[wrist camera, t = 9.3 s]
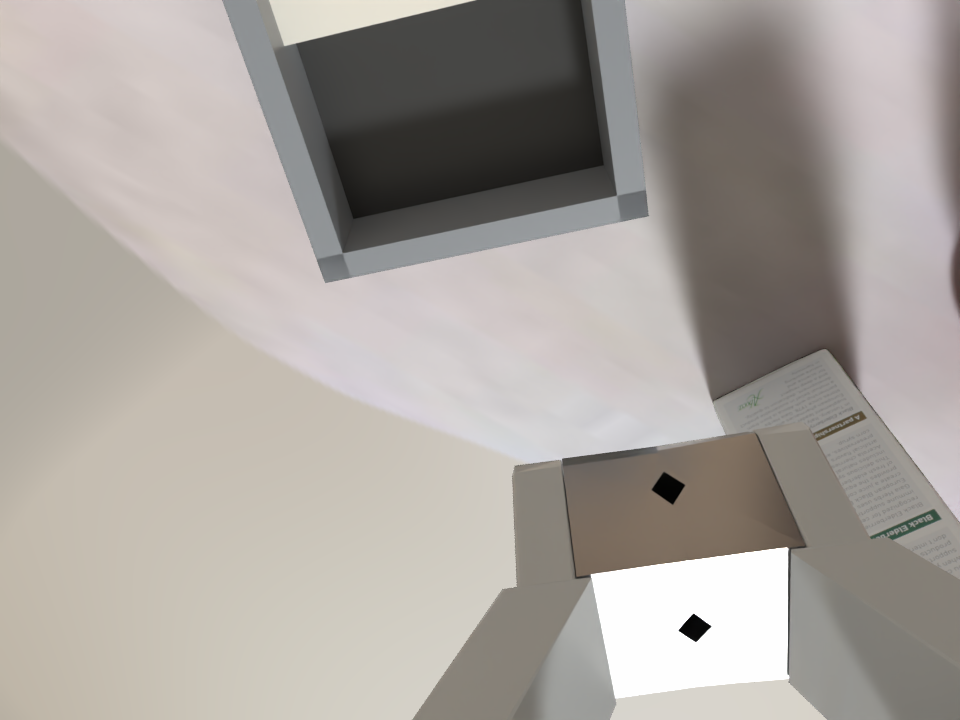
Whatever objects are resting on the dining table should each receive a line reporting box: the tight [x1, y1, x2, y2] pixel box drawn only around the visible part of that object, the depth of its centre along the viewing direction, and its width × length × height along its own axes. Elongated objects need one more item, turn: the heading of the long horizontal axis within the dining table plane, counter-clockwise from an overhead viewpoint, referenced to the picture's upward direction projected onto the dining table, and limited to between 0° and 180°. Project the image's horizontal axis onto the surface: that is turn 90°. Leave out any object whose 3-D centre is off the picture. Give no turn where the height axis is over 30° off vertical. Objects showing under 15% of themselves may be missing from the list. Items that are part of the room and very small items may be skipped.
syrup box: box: [713, 349, 960, 579], centre depth 31 cm, size 6×6×14 cm
